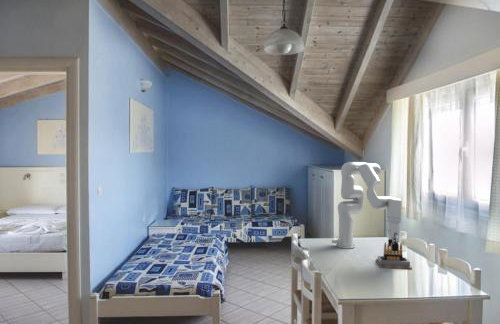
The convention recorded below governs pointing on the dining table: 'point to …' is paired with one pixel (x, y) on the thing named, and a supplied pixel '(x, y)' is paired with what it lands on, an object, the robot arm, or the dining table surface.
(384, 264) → the pocket board
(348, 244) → the robot arm
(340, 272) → the dining table surface
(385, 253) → the ammunition clip
